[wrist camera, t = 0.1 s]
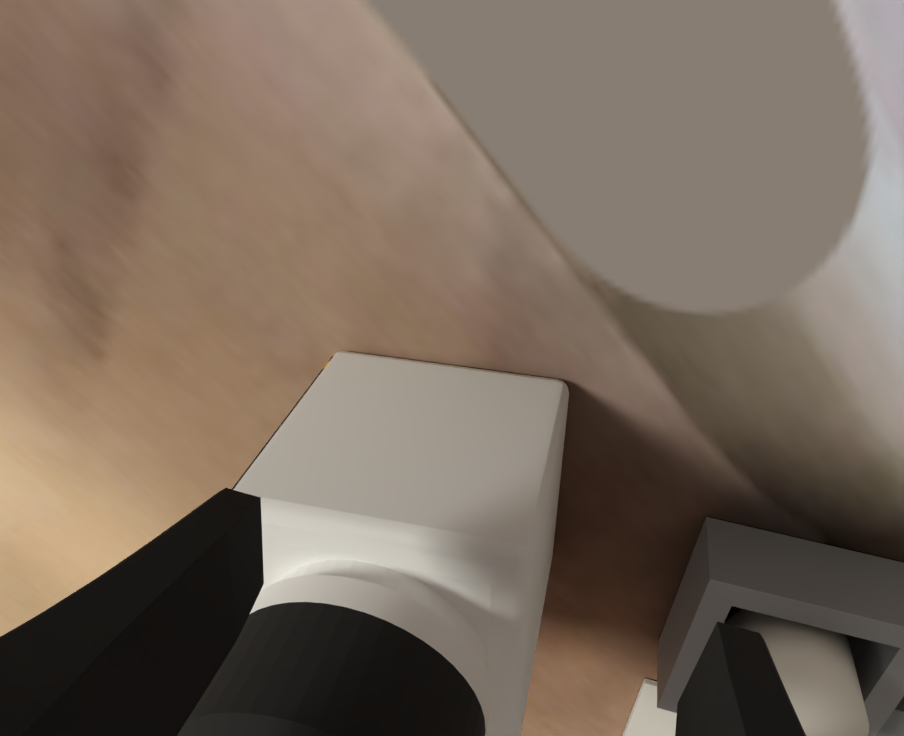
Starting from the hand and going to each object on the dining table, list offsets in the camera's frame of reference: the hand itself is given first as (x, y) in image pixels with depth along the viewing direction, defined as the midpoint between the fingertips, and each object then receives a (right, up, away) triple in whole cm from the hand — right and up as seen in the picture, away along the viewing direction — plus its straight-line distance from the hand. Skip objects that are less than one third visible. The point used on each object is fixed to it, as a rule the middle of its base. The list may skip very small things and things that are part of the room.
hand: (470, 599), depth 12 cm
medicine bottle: (0, +1, +12) cm, 12 cm away
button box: (+10, -4, +12) cm, 16 cm away
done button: (+10, -5, +11) cm, 15 cm away
